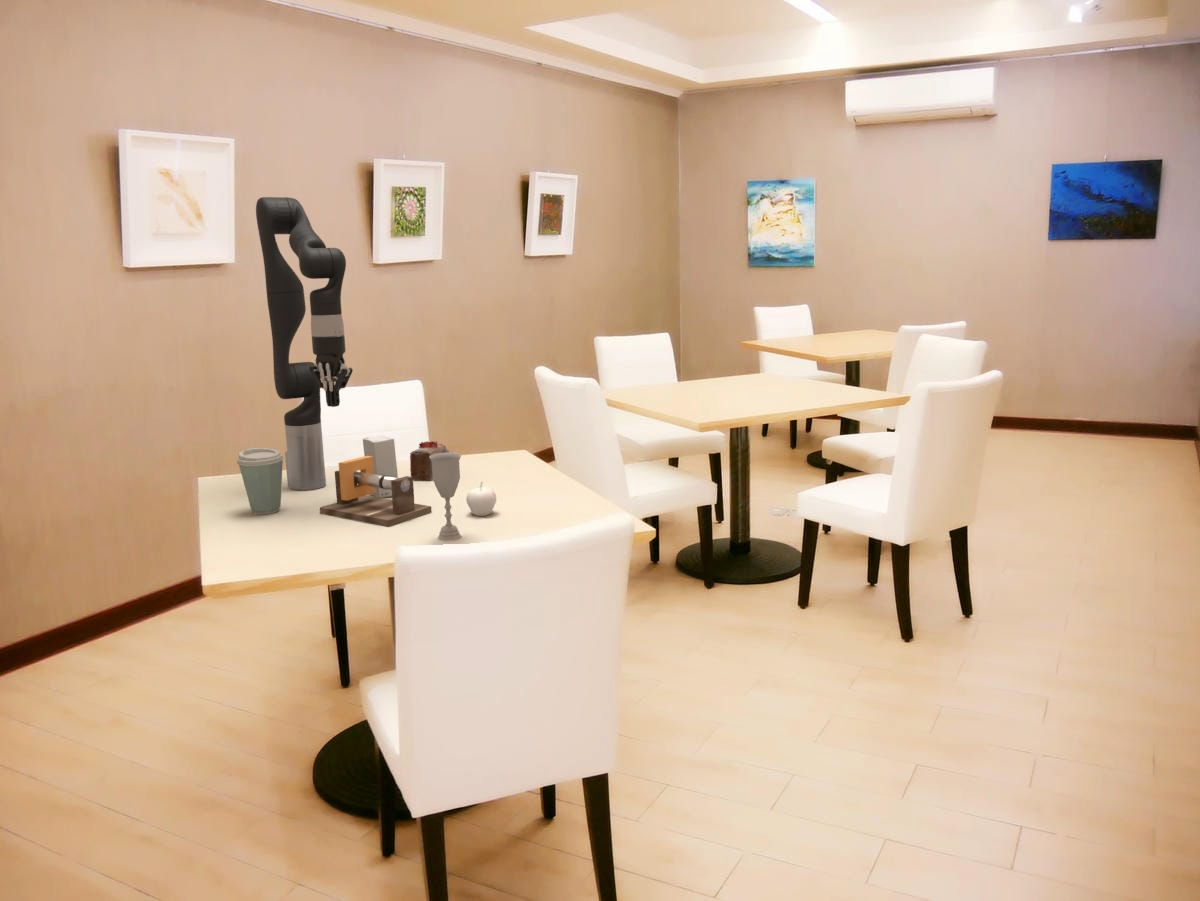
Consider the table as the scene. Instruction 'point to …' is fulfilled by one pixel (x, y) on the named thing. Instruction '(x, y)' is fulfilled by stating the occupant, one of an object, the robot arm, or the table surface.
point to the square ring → (348, 478)
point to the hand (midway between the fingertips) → (333, 406)
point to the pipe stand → (378, 505)
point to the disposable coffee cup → (262, 478)
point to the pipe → (378, 481)
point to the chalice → (446, 487)
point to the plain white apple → (481, 500)
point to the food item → (424, 460)
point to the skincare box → (382, 459)
